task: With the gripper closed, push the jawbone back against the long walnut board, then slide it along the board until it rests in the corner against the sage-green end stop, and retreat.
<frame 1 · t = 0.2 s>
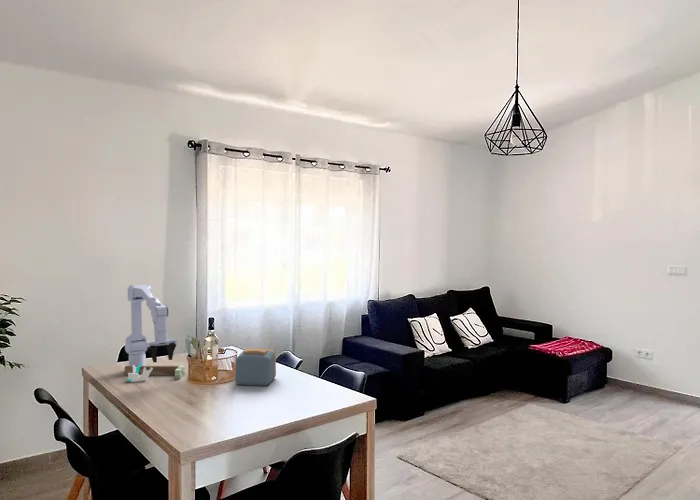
hand: (162, 361, 247), 11 cm above the table, tool pointing down, fingers open, 7 cm apart
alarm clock: (255, 382, 253), on the table
jawbone: (137, 380, 254), on the table
cleat board: (152, 374, 264), on the table
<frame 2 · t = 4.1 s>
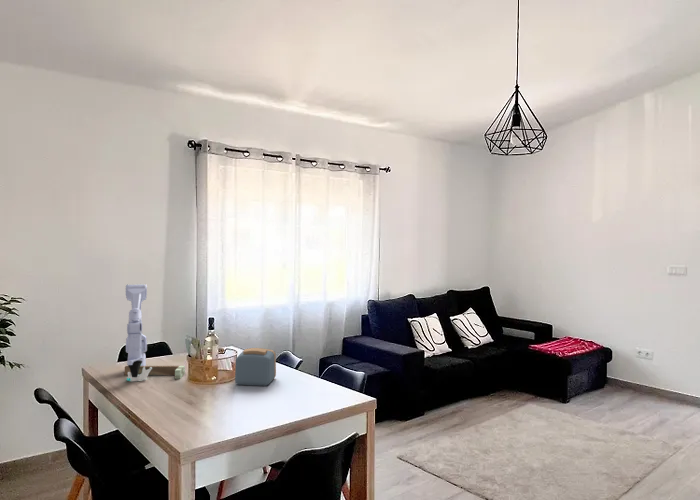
hand: (134, 376, 249), 2 cm above the table, tool pointing down, fingers closed
jawbone: (137, 379, 254), on the table, touching gripper
everything else where it was.
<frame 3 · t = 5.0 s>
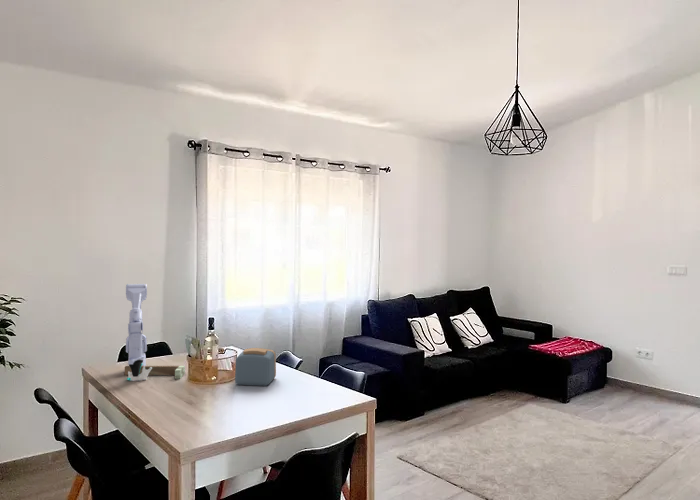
hand: (135, 376, 251), 2 cm above the table, tool pointing down, fingers closed
jawbone: (137, 379, 255), on the table
everything else where it was.
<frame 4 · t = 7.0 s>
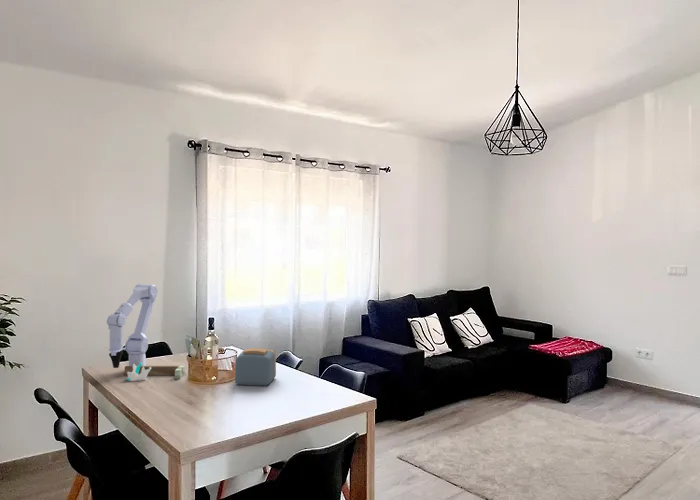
hand: (116, 367, 256), 5 cm above the table, tool pointing down, fingers closed
nothing on the table moved.
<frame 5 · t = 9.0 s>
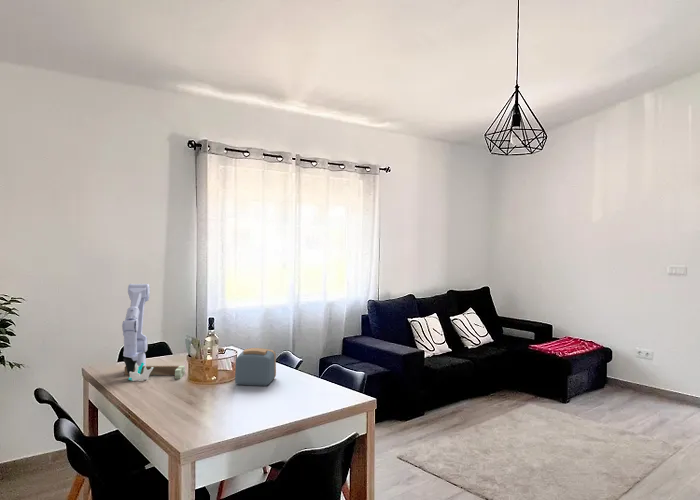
hand: (130, 373, 256), 2 cm above the table, tool pointing down, fingers closed
jawbone: (138, 379, 255), on the table, touching gripper
everything else where it was.
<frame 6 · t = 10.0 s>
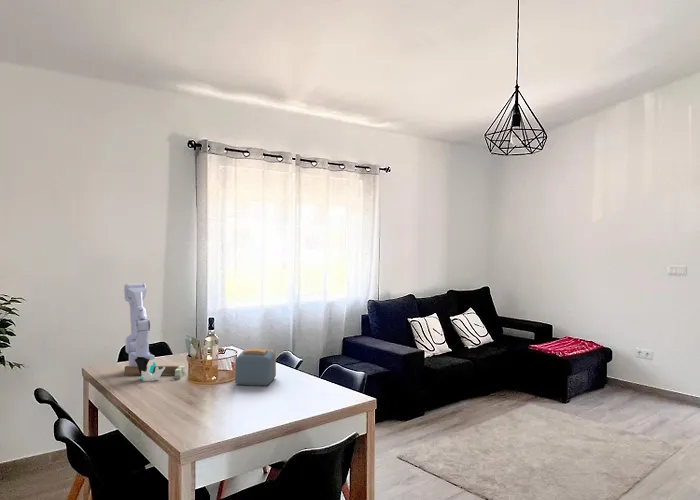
hand: (142, 372, 257), 2 cm above the table, tool pointing down, fingers closed
jawbone: (150, 379, 256), on the table, touching gripper
everything else where it was.
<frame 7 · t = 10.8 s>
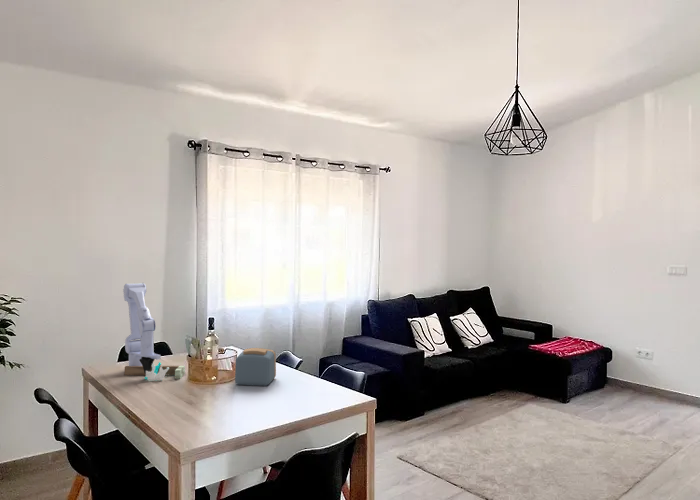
hand: (147, 372, 257), 2 cm above the table, tool pointing down, fingers closed
jawbone: (154, 379, 256), on the table, touching gripper
everything else where it was.
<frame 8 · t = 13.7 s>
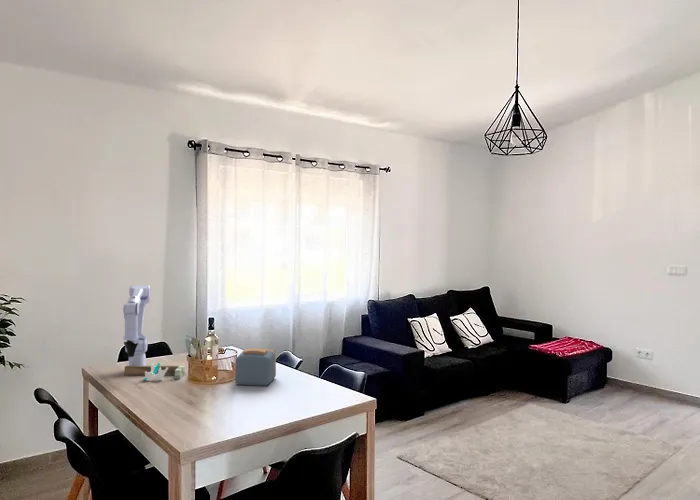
hand: (131, 356, 256), 10 cm above the table, tool pointing down, fingers closed
jawbone: (154, 379, 255), on the table
everything else where it was.
at the end: jawbone inside the target area (4.1 cm from its centre), on the table; jawbone moved 7.4 cm from its start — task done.
